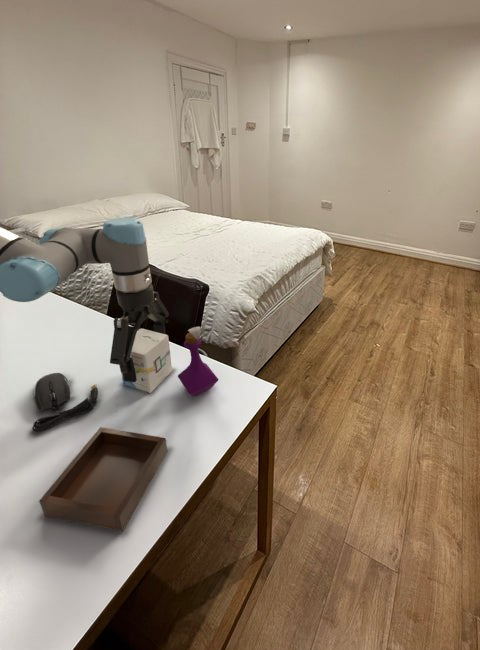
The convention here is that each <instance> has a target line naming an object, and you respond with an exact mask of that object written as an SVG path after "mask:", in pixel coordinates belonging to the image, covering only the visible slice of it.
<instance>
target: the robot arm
mask: <svg viewBox="0 0 480 650" xmlns="http://www.w3.org/2000/svg"><path fill="white" fill-rule="evenodd" d="M147 245H148V244H147V237H146V234H145V228H144V225H143V223H142V221H141V220H140V219H138V218H136V217H126V216H125V217H116V218H111V219H107V220H106V221H104V222H103V225H102V228H82V227H81V228H80V227H79V228H77V227H73V228H72V227H61V228H60V227H59V228H51V229H48V230H46V231H44V233H43V236H41V237H40V239H39V243H38V244H36V243H34V242H32V241H30V240H28V239H27V238H24V237H23V236H20V235H18V234H16V233H14V232H11V231H10V230H8V229H6V228H3V227H1V226H0V293H1V294H2V296H3V297H4V298H6V299H8V300H10V301H13V302H18V303H30V302H34V301H37V300H38V299H40V298H42V297H43V296H45V295H47V294H48V293H51V292H52V291H54V290H55V289H56V288H57V287H58V286H59V285H60V284H62V283H63V282H64V281H65V280H66V279H67V278H69V277H70V276H71V275H73V274H76V272H77V271H78V270H80V269H81V268H82V267H84V266H85V265H89V264H91V265H92V264H93V265H95V264H97V265H98V264H100V265H101V264H109V265H110V268H111V275H112V279H113V285H114V288H115V293H116V299H117V303H118V305H119V307H121V308H122V310H123V315H122V316H121V317H120V318H119V317H115V318H114V319H113V336H112V344H111V349H110V350H111V351H110V358H109V364H110V365H111V364H112V365H118V366H119V370H120V373H122V374H123V378H124V381H128V382H136V381H137V378H136V373H135V368H134V363H133V358H132V357H130V355H131V351H132V347H133V344H134V340H135V336H136V333H137V331H138V330H140V329H141V326H142V324H143V323H144V321H146V320H147V319H150V320H151V321H154V323H153V324H152V326H153V331H154V332H158V333H161V334H165V335H167V334H166V325H165V324H168V322H169V318H168V317H169V315H170V313H169V311H168V310H167V308H166V306H165V305H164V303H163V302H162V300H161V299H160V294H159V292H158V291H154V285H153V284H152V281H153V280H152V274H151V268H150V260H149V253H148V246H147ZM133 325H134V326H133ZM122 374H121V375H122Z"/></svg>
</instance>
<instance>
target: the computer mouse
mask: <svg viewBox="0 0 480 650" xmlns="http://www.w3.org/2000/svg"><path fill="white" fill-rule="evenodd" d="M98 389H99V388H98V387H97V384H96V383H95V384H93V385H92V386H91V387H90V392H89V394H90V399H89V398H88V397H86V398H85V399H83V400H82V401H81V402H79V403H78V404H76V405H75V406H74V407H71V408H68V409H66V410H62V411H58V406H60V405H62V404H64V403H65V402H67V401H68V400H70V399H71V390H70V385H69V381H68V378H67V377H66V376H65V375H64V374H63V373H60V372H53V373H49V374H45V375H44V376H42V377H41V378H39V379H38V380H37V382H36V384H35V388H34V401H35V405H36V408H37V410H38V411H39V412H40V411H44V410H48V409H53V411H54V412H55V413H56V414H53V415H48V416H43V417H40V418H38V419H36V420H35V421H34V422H33V424H32V425H33V426H32V427H31V428H32V431H33V432H41V431H45V430H47V429H49V428H51V427H53V426H54V425H56V424H57V423H59V422H60V421H63V420H68V419H69V417H75V416H79V415H83V414H86V413H88V412H90V411H91V410H93V408H94V407H95V405H96V404H97V400H98V396H99V390H98Z"/></svg>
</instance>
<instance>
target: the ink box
mask: <svg viewBox="0 0 480 650" xmlns="http://www.w3.org/2000/svg"><path fill="white" fill-rule="evenodd" d="M130 357H132V358H133V363H134V368H135V373H136V378H137V381H136V382H128V381H124V378H123V374H122V373H121V372H120V373H121V379H122V384H123V385H126V386H128V387H131V388H134V389H137V390H139V391H143V392H146V393H150V394H151V393H152V392H153V391H154V390H155V389H156V388H157V387H158V386H159V385H161V383H162V382H164V380H165V379H167V377H168V376H169V375H170V374H171V373H173V366H172V365H173V364H172V357H171V348H170V340H169V335H168V334H166V335H165V334H161V333H158V332H154V330H149V329H145V328H140V329H139V330H138V331H137V333H136V336H135V340H134V344H133V347H132V351H131V355H130Z"/></svg>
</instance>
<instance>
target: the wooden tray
mask: <svg viewBox="0 0 480 650" xmlns="http://www.w3.org/2000/svg"><path fill="white" fill-rule="evenodd" d="M167 453H168V445H167V439H166V437H164V436H163V437H162V436H156V435H152V434H151V435H150V434H143V433H137V432H131V431H125V430H121V429H113V428H107V427H101V426H100V427H99V428H98V429H97V430H96V432H95V433H94V434H93V435H92V436H91V438H90V439H89V440H88V441H87V442H86V444H85V445H84V446H83V447H82V449H81V450H80V451H79V452H78V453H77V454H76V455H75V457H74V458H73V459H72V461H71V462H70V463H69V464H68V466H67V467H66V468H65V469H64V470H63V472H61V474H59V476H58V477H57V479H56V480H55V481H53V484H51V486H50V487H49V488H48V489H47V490H46V492H45V493H44V494H43V496H42V497H40V498H39V500H38V501H39V505H40V507H41V510H42V513H43V515H44V517H49V518H55V519H59V520H65V521H70V522H74V523H79V524H84V525H89V526H94V527H99V528H105V529H108V530H114V531H120V532H124V530H125V529H126V527H127V525H128V524H129V522H130V520H131V518H132V516H133V514H134V513H135V511H136V509H137V507H138V505H139V504H140V502H141V501H142V498H143V496H144V495H145V493H146V491H147V490H148V487H149V486H150V484H151V482H152V481H153V479H154V477H155V474H157V471H158V470H159V468H160V466H161V465H162V462H163V460H164V459H165V457H166V455H167Z"/></svg>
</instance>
